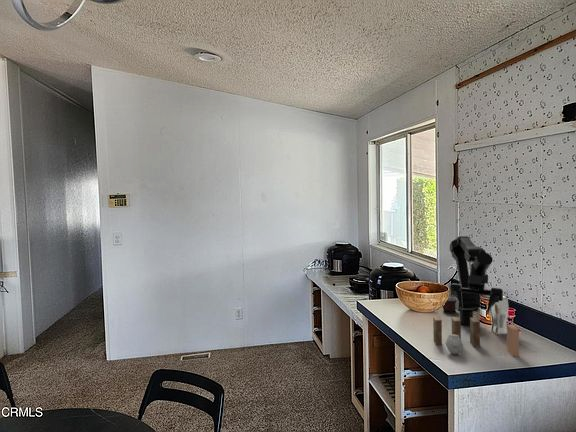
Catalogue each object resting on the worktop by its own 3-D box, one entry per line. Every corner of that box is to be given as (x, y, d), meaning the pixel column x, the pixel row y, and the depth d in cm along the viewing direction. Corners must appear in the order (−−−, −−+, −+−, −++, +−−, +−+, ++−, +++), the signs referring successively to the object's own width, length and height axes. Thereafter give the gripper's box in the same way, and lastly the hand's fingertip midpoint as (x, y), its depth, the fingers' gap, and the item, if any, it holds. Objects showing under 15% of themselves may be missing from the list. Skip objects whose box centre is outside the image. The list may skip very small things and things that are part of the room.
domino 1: (435, 344, 156) (435, 320, 156) (433, 340, 161) (433, 316, 161) (441, 345, 156) (441, 320, 155) (439, 340, 161) (439, 316, 160)
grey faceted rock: (461, 350, 150) (461, 332, 150) (465, 357, 143) (465, 339, 143) (444, 349, 152) (444, 331, 151) (447, 356, 145) (447, 338, 144)
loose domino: (511, 355, 144) (511, 329, 143) (507, 350, 149) (506, 324, 148) (518, 356, 143) (518, 329, 143) (513, 350, 148) (513, 324, 148)
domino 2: (454, 345, 155) (454, 320, 154) (451, 341, 160) (451, 316, 159) (460, 346, 154) (460, 321, 154) (458, 341, 159) (457, 317, 159)
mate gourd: (440, 310, 202) (439, 281, 202) (455, 309, 202) (455, 280, 201) (445, 314, 195) (445, 284, 194) (461, 314, 195) (461, 284, 194)
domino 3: (473, 346, 153) (473, 321, 153) (470, 342, 158) (470, 317, 158) (480, 347, 153) (479, 321, 152) (476, 342, 158) (476, 317, 157)
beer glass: (506, 330, 171) (506, 295, 170) (509, 335, 164) (509, 300, 163) (488, 328, 173) (488, 295, 172) (491, 334, 166) (491, 299, 166)
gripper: (450, 264, 159) (446, 299, 152) (503, 268, 150) (501, 306, 142) (453, 277, 167) (449, 311, 160) (503, 282, 158) (501, 318, 150)
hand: (474, 311), depth 153 cm, fingers open, 9 cm apart
